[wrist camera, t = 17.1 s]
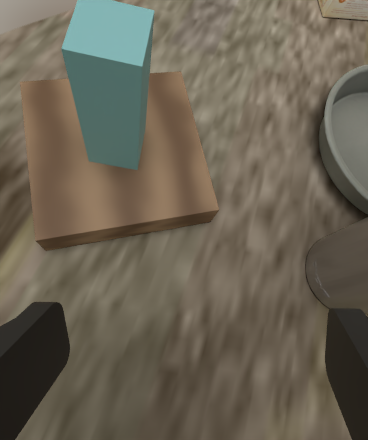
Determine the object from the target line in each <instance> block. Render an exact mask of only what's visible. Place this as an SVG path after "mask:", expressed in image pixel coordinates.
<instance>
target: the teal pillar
mask: <svg viewBox="0 0 368 440" xmlns="http://www.w3.org/2000/svg"><path fill="white" fill-rule="evenodd" d="M153 22H154V10H150V9H146V8H141V7H137V6H133V5H129V4H125V3H121V2H116V1H112V0H78V1H77V4H76V7H75V10H74V13H73V16H72V19H71V22H70V25H69V28H68V31H67V34H66V37H65V40H64V43H63V46H62V53H63V57H64V61H65V65H66V70H67V74H68V78H69V82H70V86H71V90H72V94H73V98H74V102H75V106H76V111H77V115H78V119H79V123H80V127H81V131H82V135H83V139H84V143H85V148H86V152H87V156H88V160H89V161H90V162H96V163H101V164H106V165H112V166H117V167H123V168H128V169H134V170H138V165H139V160H140V154H141V149H142V144H143V139H144V134H145V126H146V113H147V100H148V87H149V74H150V61H151V48H152V35H153Z"/></svg>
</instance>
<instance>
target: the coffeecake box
mask: <svg viewBox="0 0 368 440" xmlns="http://www.w3.org/2000/svg"><path fill="white" fill-rule="evenodd" d="M318 2H319V6H320V10H321V13H322V16H323V17H331V18H344V19H357V20H368V0H318Z"/></svg>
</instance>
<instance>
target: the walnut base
mask: <svg viewBox="0 0 368 440" xmlns="http://www.w3.org/2000/svg"><path fill="white" fill-rule="evenodd" d="M20 86H21V96H22V107H23V117H24V127H25V138H26V148H27V158H28V169H29V179H30V190H31V200H32V210H33V221H34V231H35V241H36V242H37V243H38V244H40V245H41V246H42V247H43V248H44V249H45V250H46V251H47V250H53V249H59V248H64V247H70V246H76V245H82V244H87V243H93V242H99V241H104V240H110V239H116V238H122V237H127V236H133V235H139V234H144V233H150V232H156V231H161V230H167V229H173V228H179V227H184V226H190V225H196V224H201V223H207V222H211V220H212V219H213V218H214V216H215V215H216V213H217V212H218V211H219V207H218V204H217V200H216V196H215V193H214V189H213V185H212V182H211V178H210V175H209V171H208V167H207V164H206V160H205V157H204V153H203V149H202V146H201V142H200V138H199V135H198V131H197V128H196V124H195V120H194V117H193V113H192V109H191V106H190V102H189V99H188V95H187V91H186V88H185V84H184V81H183V77H182V73H181V72H166V73H150V74H149V87H148V100H147V113H146V126H145V134H144V139H143V144H142V149H141V154H140V160H139V165H138V170H134V169H128V168H123V167H117V166H112V165H106V164H101V163H96V162H90V161H89V160H88V156H87V152H86V148H85V143H84V139H83V135H82V131H81V127H80V123H79V119H78V115H77V111H76V106H75V102H74V98H73V94H72V90H71V86H70V82H69V79H57V80H41V81H26V82H20Z"/></svg>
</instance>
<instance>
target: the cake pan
mask: <svg viewBox="0 0 368 440" xmlns="http://www.w3.org/2000/svg"><path fill="white" fill-rule="evenodd" d="M319 147H320V153H321V157H322V160H323V163H324V166H325V168H326V170H327V172H328V174H329V176H330V178H331V179H332V181H333V182H334V184H335V185H336V187H337V188H338V189H339V190H340V192H341V193H342V194H343V195H344V196H345V197H346V198H347V199H348V200H349V201H350V202H351V203H352V204H353V205H355V206H356V207H357V208H358V209H360V210H361V211H363V212H364V213H366V214H367V215H368V65H364V66H360V67H357V68H355V69H353V70H351V71H349V72H348V73H346V74H345V75H343V76H342V77H341V78H340V79H339V80H338V81H337V82H336V83H335V85H334V86H333V88H332V89H331V91H330V93H329V96H328V98H327V102H326V106H325V112H324V117H323V120H322V122H321V126H320V131H319Z"/></svg>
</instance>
